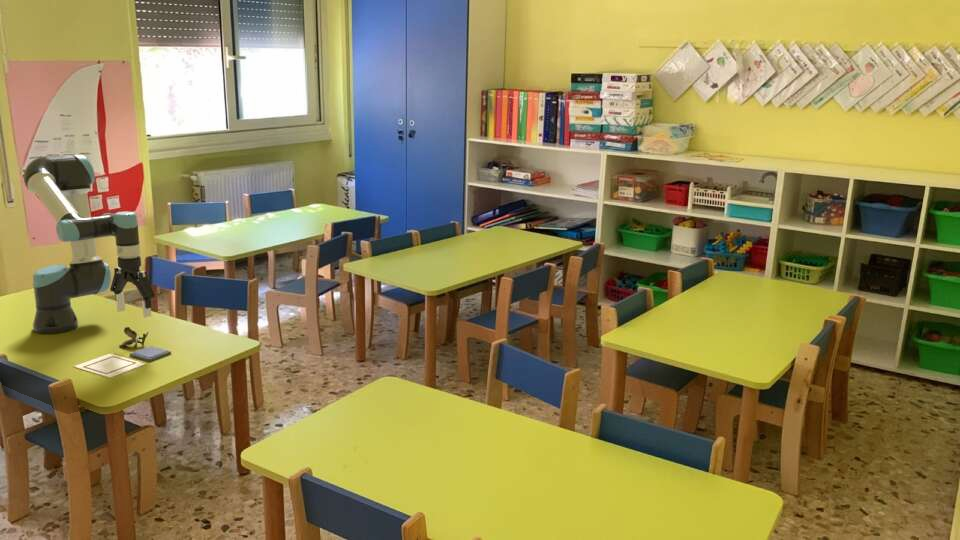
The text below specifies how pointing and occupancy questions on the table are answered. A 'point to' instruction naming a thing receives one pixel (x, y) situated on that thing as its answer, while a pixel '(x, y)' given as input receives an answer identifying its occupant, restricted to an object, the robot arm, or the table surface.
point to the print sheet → (109, 365)
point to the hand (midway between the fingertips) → (134, 313)
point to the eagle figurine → (133, 337)
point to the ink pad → (150, 353)
